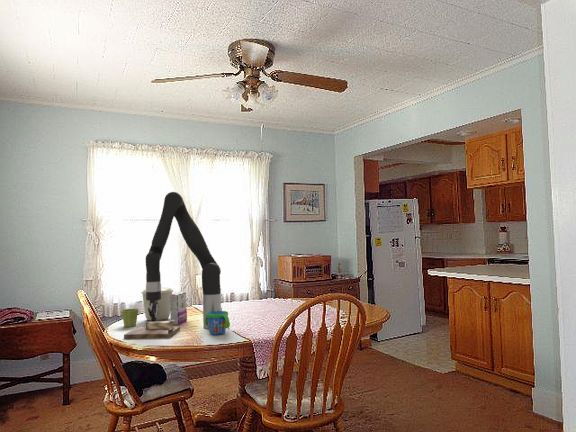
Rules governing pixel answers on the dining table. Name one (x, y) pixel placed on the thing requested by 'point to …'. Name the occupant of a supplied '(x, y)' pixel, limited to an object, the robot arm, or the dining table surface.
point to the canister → (163, 304)
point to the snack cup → (217, 322)
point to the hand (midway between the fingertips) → (153, 324)
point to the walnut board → (151, 333)
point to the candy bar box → (178, 307)
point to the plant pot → (129, 317)
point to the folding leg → (160, 324)
